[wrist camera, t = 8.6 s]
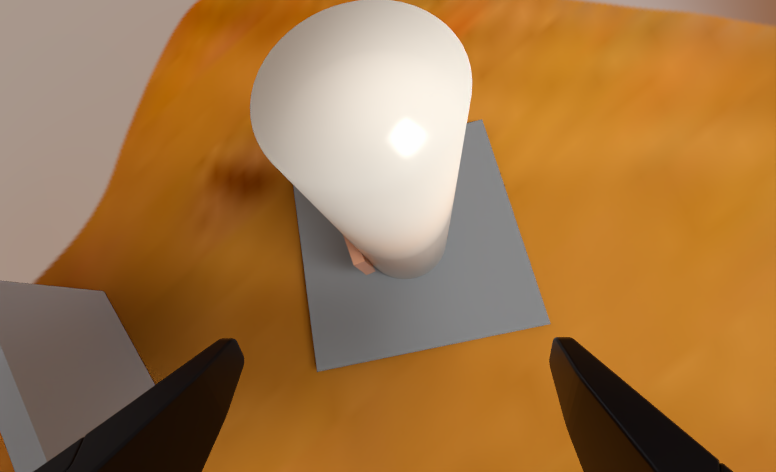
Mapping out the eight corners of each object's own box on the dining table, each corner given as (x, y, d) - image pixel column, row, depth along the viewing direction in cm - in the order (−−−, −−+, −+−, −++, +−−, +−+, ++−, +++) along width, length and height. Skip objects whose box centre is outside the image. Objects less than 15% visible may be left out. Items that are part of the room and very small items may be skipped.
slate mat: (547, 323, 16) (550, 323, 16) (319, 370, 17) (317, 371, 17) (481, 123, 20) (482, 119, 19) (293, 171, 21) (291, 168, 20)
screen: (179, 430, 17) (55, 481, 12) (162, 446, 17) (27, 506, 12) (103, 291, 20) (-27, 278, 15) (88, 304, 20) (-50, 296, 14)
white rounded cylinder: (460, 260, 17) (514, 134, 6) (376, 293, 18) (268, 234, 6) (427, 187, 19) (418, -31, 7) (349, 218, 19) (220, 53, 7)
